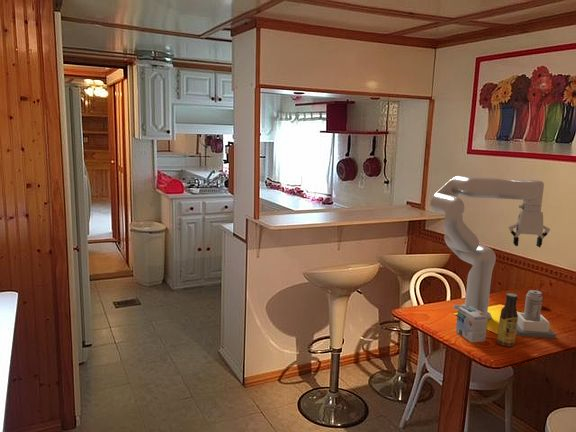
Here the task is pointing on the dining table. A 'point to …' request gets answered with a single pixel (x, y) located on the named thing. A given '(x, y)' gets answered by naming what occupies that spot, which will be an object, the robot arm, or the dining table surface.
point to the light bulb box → (471, 324)
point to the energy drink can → (533, 305)
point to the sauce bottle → (508, 321)
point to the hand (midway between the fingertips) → (527, 246)
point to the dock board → (534, 327)
